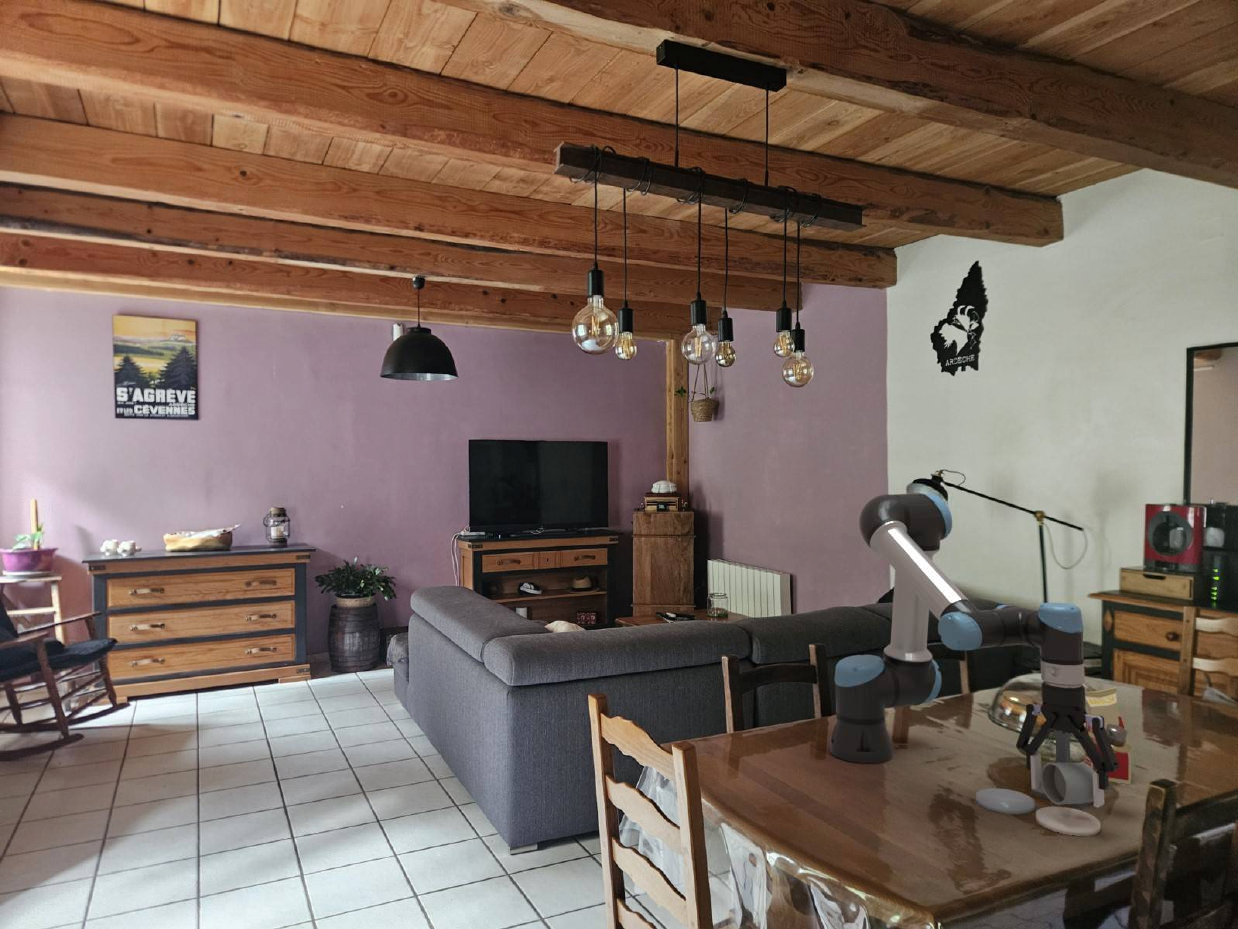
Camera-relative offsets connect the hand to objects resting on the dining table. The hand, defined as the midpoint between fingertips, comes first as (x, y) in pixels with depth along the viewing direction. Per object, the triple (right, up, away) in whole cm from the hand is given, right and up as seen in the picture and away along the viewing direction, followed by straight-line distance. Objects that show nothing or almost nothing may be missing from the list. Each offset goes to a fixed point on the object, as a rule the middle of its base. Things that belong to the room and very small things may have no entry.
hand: (1067, 796), depth 156 cm
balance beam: (+6, +10, +13) cm, 18 cm away
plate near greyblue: (-7, -6, +10) cm, 14 cm away
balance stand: (+7, -6, +13) cm, 16 cm away
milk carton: (+23, -6, +25) cm, 34 cm away
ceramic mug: (0, -1, +1) cm, 1 cm away
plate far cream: (0, -5, 0) cm, 5 cm away
